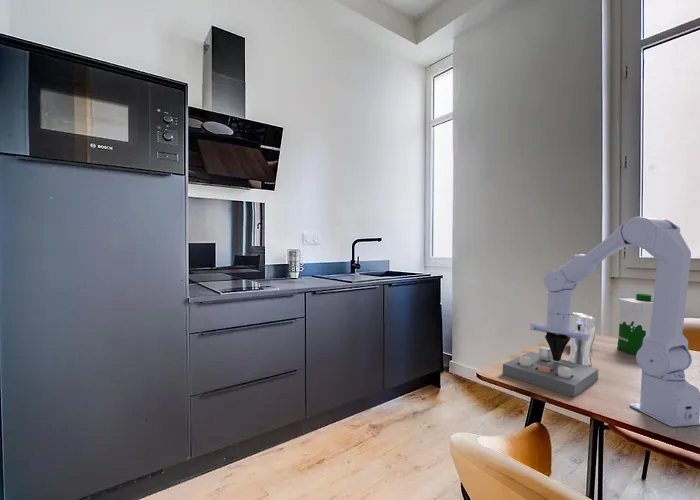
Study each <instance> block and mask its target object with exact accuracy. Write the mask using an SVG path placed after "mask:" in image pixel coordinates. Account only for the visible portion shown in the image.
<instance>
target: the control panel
mask: <svg viewBox="0 0 700 500" xmlns="http://www.w3.org/2000/svg"><path fill="white" fill-rule="evenodd" d="M521 356H526V357H530V358H531V359H532V363H531V367H525V366H522V365H520V356H518V357H516V358H513V359H511V360H509V361H506V362H505V363H502V375H503V376H507V377H509V378H512V379H515V380H518V381H522V382H524V383H528V384H531V385H534V386H536V387H540V388H544V389H546V390H550V391H551V392H552V391H553V392H556V393H559V394H562V395H565V396H569V397H570V398H575V397H577V396H578V395H580V394H581V393H582V392H583V391H585V390H586V389H587V388H589V387H590V386H592V385H593V384H595V383H596V382H597V381H598V380H599V368H595V367H593V366H585V365H581V364H577V363H573V362H570V361H569V360H564V359H561V360H560V361H554V360H553V357H552V359H551V360H549V361H545V360H541V359H539V352H535V351H534V352H533V351H529V352H526V353H525V354H522V355H521ZM540 365H542V366H547V367H550V368H551V370H550V373H546V372H543V371H539V370H538V366H540ZM560 366H562V367H568V368H570V369H571V379H567V378H563V377H560V376H558V367H560Z"/></svg>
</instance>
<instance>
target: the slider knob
mask: <svg viewBox="0 0 700 500" xmlns="http://www.w3.org/2000/svg"><path fill="white" fill-rule="evenodd" d="M538 354H539V359H541V360H545V361H549V360H551V359H552V353H551V349H550V347H549V346H545V345H543V346H541V347H539V348H538Z"/></svg>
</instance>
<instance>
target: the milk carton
mask: <svg viewBox="0 0 700 500" xmlns="http://www.w3.org/2000/svg"><path fill="white" fill-rule="evenodd" d="M635 295H636V297H635V298H627V297H625V298H618V305H619V323H618V324H619V326H618V327H619V328H618V337H617V338H618V340H617V347H616V348H617V349H618V350H621V351H623V352H625V353H628V354H630V355H636V354H637V352H638V350H639V349H640V348H641V347H642V344H643V339H644V337H645V336H646V334H647V333H648V332H649V330H650V326H651V317H652V307H653V300H652V294H647V293H636V294H635Z"/></svg>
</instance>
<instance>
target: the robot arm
mask: <svg viewBox="0 0 700 500" xmlns="http://www.w3.org/2000/svg"><path fill="white" fill-rule="evenodd" d="M627 247H637V248H641V249H643V250H644V251H646V252H647V253H648V254H650V255H651V257H653V258H654V259H655V260H656V261H657V262H656V269H655V270H656V271H655V280H654V281H655V282H654V288H653V289H654V290H653V299H652V301H653V307H652V317H651V326H650V330H649V332H648V333H647V334H646V336H645V337H644V339H643V344H642V347H641V348H640V349H639V350H638V352H637V354H635V355H636V357H635V359H636V362H637V365H638V366H639V367H640V369H641V379H640V381H641V382H640V383H641V384H640V396H639V397H640V400H639V402H636V403H634V402H633V403H629V406H630V407H631V408H633V409H635V410H636V411H639V412H641V413H643V414H645V415H647V416H649V417H651V418H653V419H655V420H657V421H659V422H660V423H663V424H665V425H667V426H669V427H672V428H674V427H677V428H678V427H686V426H687V427H688V426H699V425H700V390H699V388H698V387H696V386H695V385H693V384H691V383H689V381H687V380H686V374H685V370H687V369H689V368H690V367H691V365H692V363H693V358H692V354H691V352H690V351H689V340H688V339H687V338H686V337H685V335H684V334H683V329H684V322H685V313H686V304H687V296H688V285H689V279H690V278H689V277H690V268H691V259H692V252H691V249H690V248H689V246H688V244H687V243H686V240H685V238H684V237H683V236H682V234H681V228H680V226H678V225H677V224H675V223H673V222H672V221H670V220H669V219H666V218H663V217H662V218H661V217H660V218H658V217H657V218H654V217H653V218H652V217H644V216H635V217H631V218H629V219H628V220H627V221H626V222H624V223H622V224H621V225H619V226H617V228H616V229H615V230H614V231H613V232H612V233H611V234H610V235H609V236H607V237H606V238H605V239H603V240H602V241H601V242H600V243H599V244H598V245H596V246H595V247H593V249H592V250H590V251H589V252H588V253H587V254H584V253H579V254H573V255H572V256H571V259H570V260H569V261H568V262H566V263H565V264H564V265H560V266H559V267H558V269H557V270H549V271H548V272H547V274H546V275H545V276H544V279H543V282H544V283H543V284H544V286H545V288H546V289H547V290H548V292H547V313H546V316H547V317H546V324H543V323H537V322H536V323H535V322H531V323H530V329H529V330H530V331H532V332H533V331H537V332H541V333H546V334H545V335H544V338H545V340H546V341H547V344H548V347H549V348H550V349H551V353H552V357H553V360H554V361H560V360H561V358H562V356H563V353H564V351H565V348H566V346H567V344H569V343H570V338H574V339H579V340H582V341H588V333H584V332H580V331H577V330H573V329H570V316H571V312H572V311H571V310H572V309H571V308H572V296H573V291H574V290H575V289H576V287H577V286H578V283H580V282H581V281H583V280H584V279H585V278H587V277H588V276H591V275H592V274H593V273H594V272H596V271H597V268H598V267H597V264H600V263H601V262H603V261H604V260H606V259H608V258H609V257H611V256H612V255H614V254H616V253H618V252H619V251H621V250H622V249H624V248H627Z"/></svg>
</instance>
